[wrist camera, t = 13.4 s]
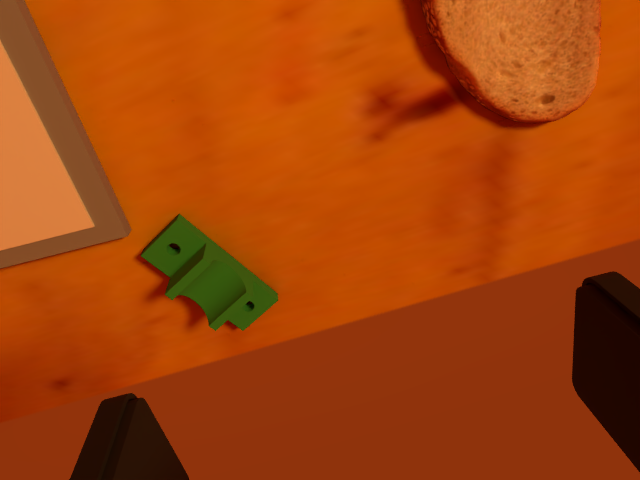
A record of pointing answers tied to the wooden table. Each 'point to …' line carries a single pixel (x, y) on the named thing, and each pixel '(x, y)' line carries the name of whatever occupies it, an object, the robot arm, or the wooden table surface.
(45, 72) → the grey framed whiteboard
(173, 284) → the pipe clamp
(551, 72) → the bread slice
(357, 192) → the wooden table surface
